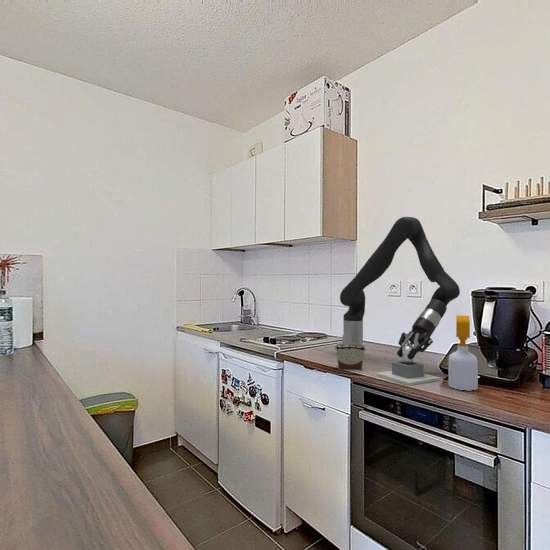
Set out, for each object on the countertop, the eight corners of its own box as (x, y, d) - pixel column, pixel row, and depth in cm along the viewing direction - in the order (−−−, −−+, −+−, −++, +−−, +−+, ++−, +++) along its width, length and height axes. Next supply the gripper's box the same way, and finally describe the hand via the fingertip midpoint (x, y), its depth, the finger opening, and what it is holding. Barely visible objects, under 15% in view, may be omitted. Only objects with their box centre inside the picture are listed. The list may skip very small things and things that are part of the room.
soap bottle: (476, 385, 134) (476, 315, 134) (478, 392, 126) (478, 317, 126) (448, 382, 138) (448, 314, 138) (448, 389, 130) (448, 316, 130)
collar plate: (376, 375, 148) (376, 361, 148) (406, 371, 155) (406, 357, 155) (408, 385, 134) (408, 369, 134) (440, 380, 141) (440, 365, 141)
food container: (363, 367, 162) (363, 343, 162) (365, 370, 156) (365, 345, 156) (334, 366, 163) (334, 342, 163) (334, 369, 157) (334, 345, 157)
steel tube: (400, 369, 146) (399, 345, 146) (407, 368, 147) (407, 345, 148) (408, 372, 142) (408, 347, 142) (415, 370, 144) (415, 346, 144)
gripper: (407, 314, 155) (384, 347, 149) (437, 318, 142) (413, 353, 136) (417, 327, 157) (395, 359, 151) (447, 331, 144) (424, 367, 139)
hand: (404, 356), depth 144 cm, fingers open, 4 cm apart
